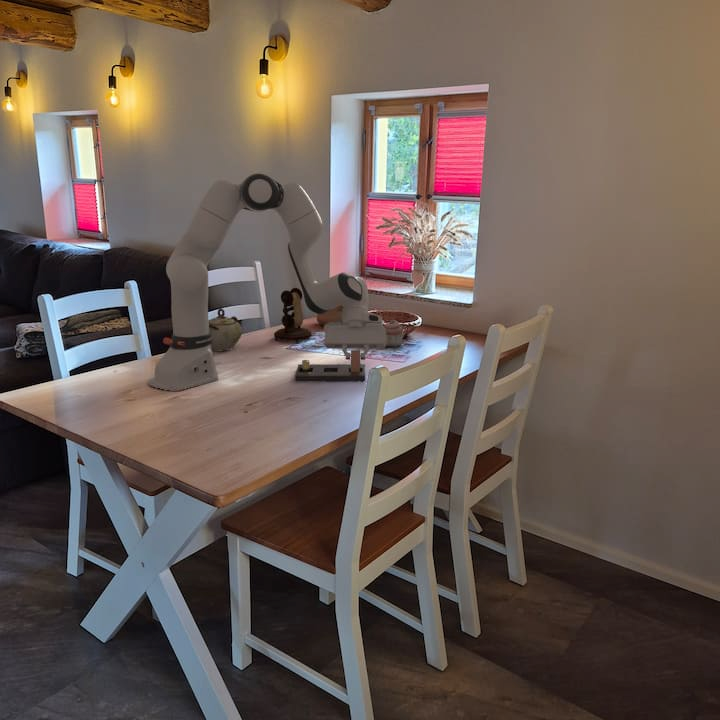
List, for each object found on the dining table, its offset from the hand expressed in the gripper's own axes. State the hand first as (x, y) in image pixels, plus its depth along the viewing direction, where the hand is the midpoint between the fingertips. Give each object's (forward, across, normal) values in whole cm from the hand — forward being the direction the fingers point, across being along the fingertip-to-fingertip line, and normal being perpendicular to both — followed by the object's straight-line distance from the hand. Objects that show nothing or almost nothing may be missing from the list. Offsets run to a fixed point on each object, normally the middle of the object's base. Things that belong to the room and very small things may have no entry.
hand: (355, 358), depth 198 cm
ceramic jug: (-46, -9, +54) cm, 71 cm away
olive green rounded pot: (-20, -50, +28) cm, 61 cm away
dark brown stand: (-29, -25, +38) cm, 54 cm away
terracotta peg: (+4, 0, +4) cm, 6 cm away
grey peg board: (+4, -8, +5) cm, 10 cm away
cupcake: (-23, +14, +32) cm, 42 cm away
